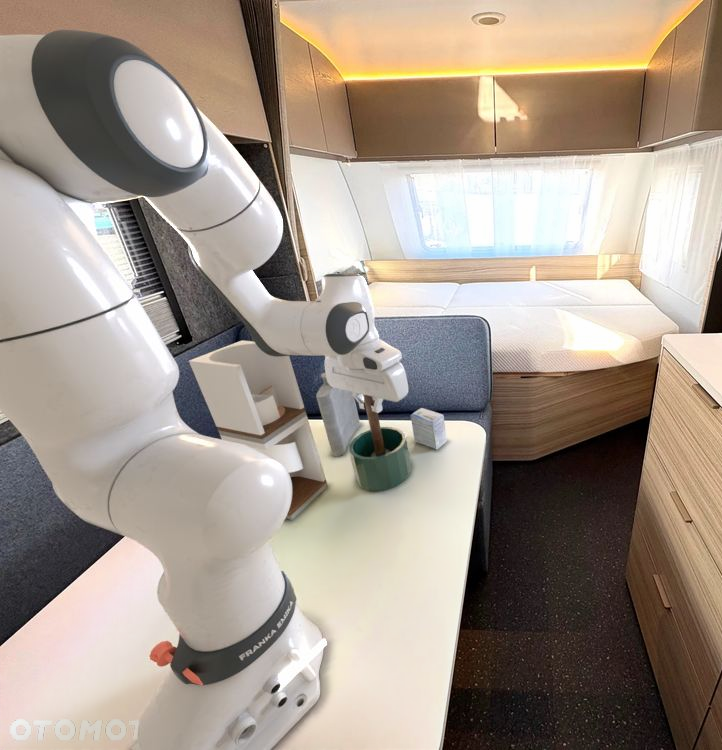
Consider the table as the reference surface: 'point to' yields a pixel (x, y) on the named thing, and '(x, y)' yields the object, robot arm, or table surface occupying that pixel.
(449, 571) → the table surface
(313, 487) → the white storage rack
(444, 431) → the medicine box
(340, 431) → the hip flask
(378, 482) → the canister
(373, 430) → the wooden plunger stick
